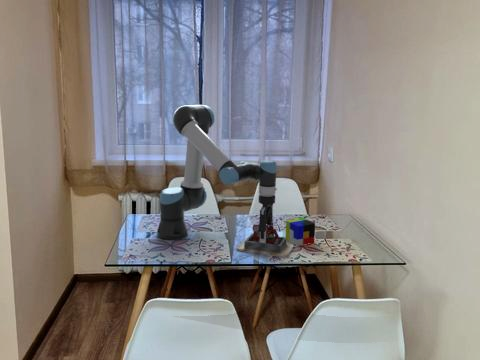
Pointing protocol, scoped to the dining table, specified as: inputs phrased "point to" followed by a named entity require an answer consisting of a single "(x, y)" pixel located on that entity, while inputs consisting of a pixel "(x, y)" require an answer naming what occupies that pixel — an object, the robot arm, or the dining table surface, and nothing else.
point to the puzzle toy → (300, 231)
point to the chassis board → (266, 247)
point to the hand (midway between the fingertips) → (265, 241)
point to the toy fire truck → (270, 239)
